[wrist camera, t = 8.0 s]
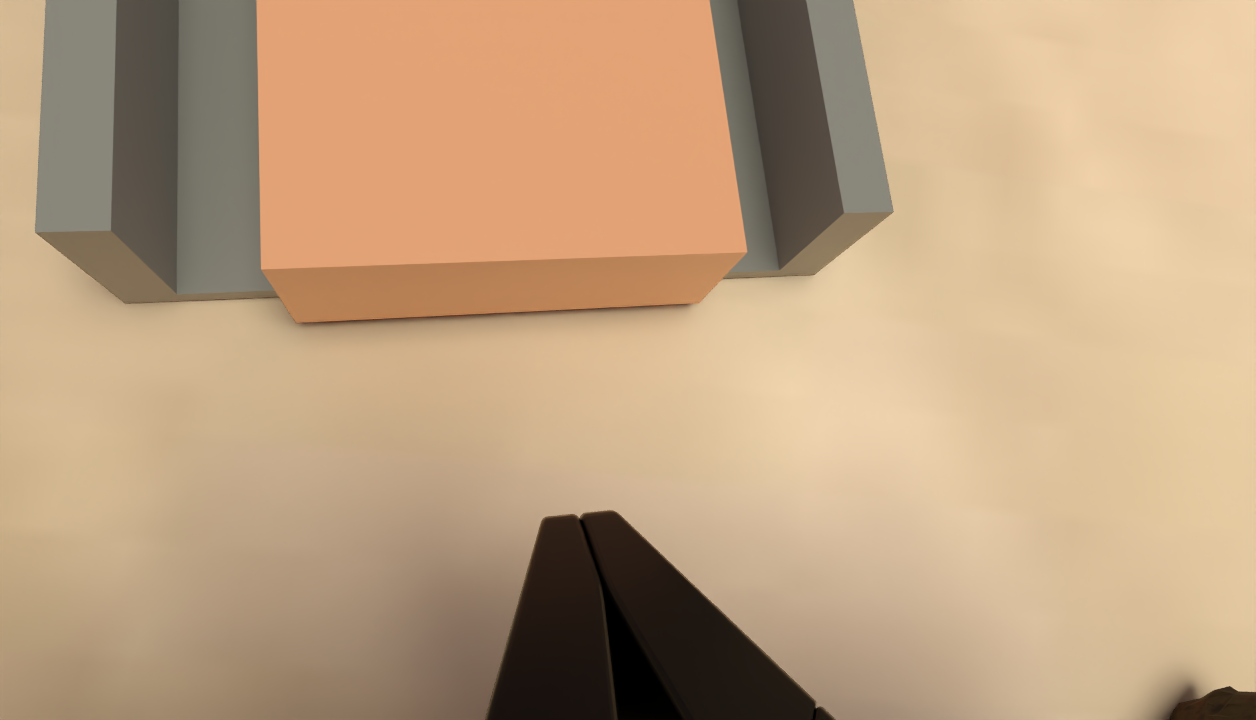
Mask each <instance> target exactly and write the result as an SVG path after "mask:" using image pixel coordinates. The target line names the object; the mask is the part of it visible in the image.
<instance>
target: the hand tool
mask: <svg viewBox="0 0 1256 720" xmlns="http://www.w3.org/2000/svg"><path fill="white" fill-rule="evenodd" d="M1169 720H1256V692H1238V691H1237V690H1235V689H1233V688H1232V687H1230V686H1229V687H1225V688H1221V689H1217V690H1214V691H1212V692H1210V693H1209V694H1207V695H1206V696H1204V697H1202V698H1201V699H1196V700H1192V701H1188V702H1184V703H1179V704H1178V706H1177V707H1176V709H1174V711H1173V713H1172V715H1171V717H1170V719H1169Z"/></svg>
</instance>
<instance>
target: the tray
mask: <svg viewBox="0 0 1256 720" xmlns="http://www.w3.org/2000/svg"><path fill="white" fill-rule="evenodd" d="M710 7H711V14H712V20H713V27H714V33H715V40H716V47H717V53H718V60H719V67H720V73H721V80H722V87H723V93H724V100H725V106H726V113H727V120H728V126H729V133H730V140H731V146H732V153H733V160H734V166H735V173H736V180H737V186H738V193H739V199H740V206H741V213H742V219H743V226H744V233H745V239H746V246H747V253H746V254H745V255H744V256H743V257H742V259H741V260H740V261H739V262H738V263H737V264H736V265H735V266H734V267H733V268H732V269H731V270H730V271H729V272H728V273H727V274H726V275H725V276H724V277H723V278H745V277H769V276H793V275H815V274H816V273H817V272H818V271H820V270H821V269H822V268H823V267H825V266H826V265H827V264H828V263H830V262H831V261H832V260H834V259H835V258H836V257H837V256H839V255H840V254H841V253H842V252H844V251H845V250H846V249H847V248H849V247H850V246H851V245H852V244H854V243H855V242H856V241H858V240H859V239H860V238H861V237H863V236H864V235H865V234H866V233H868V232H869V231H870V230H871V229H873V228H874V227H875V226H876V225H878V224H879V223H880V222H882V221H883V220H884V219H885V218H887V217H888V216H889V215H890V214H892V213H893V212H894V211H893V206H892V201H891V196H890V191H889V185H888V180H887V175H886V170H885V165H884V159H883V154H882V149H881V144H880V139H879V133H878V128H877V123H876V118H875V113H874V107H873V102H872V97H871V92H870V86H869V81H868V76H867V71H866V66H865V60H864V55H863V50H862V45H861V40H860V34H859V29H858V24H857V19H856V14H855V8H854V3H853V0H710ZM35 233H36V234H38V235H39V236H40V237H42V238H43V239H44V240H45V241H47V242H48V243H49V244H50V245H52V246H53V247H54V248H56V249H57V250H58V251H59V252H61V253H62V254H63V255H64V256H66V257H67V258H68V259H69V260H71V261H72V262H73V263H75V264H76V265H77V266H78V267H80V268H81V269H82V270H83V271H85V272H86V273H87V274H89V275H90V276H91V277H92V278H94V279H95V280H96V281H97V282H99V283H100V284H101V285H103V286H104V287H105V288H106V289H108V290H109V291H110V292H111V293H113V294H114V295H115V296H116V297H118V298H119V299H120V300H122V301H123V302H124V303H144V302H168V301H192V300H216V299H240V298H265V297H279V296H278V295H277V293H276V291H275V290H274V288H273V287H272V285H271V284H270V282H269V281H268V279H267V278H266V276H265V275H264V273H263V272H262V270H261V237H260V178H259V118H258V59H257V0H46V8H45V29H44V51H43V72H42V94H41V115H40V137H39V158H38V180H37V201H36V223H35Z"/></svg>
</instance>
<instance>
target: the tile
mask: <svg viewBox="0 0 1256 720" xmlns="http://www.w3.org/2000/svg"><path fill="white" fill-rule="evenodd" d="M257 59H258V118H259V178H260V237H261V270H262V272H263V273H264V275H265V276H266V278H267V279H268V281H269V282H270V284H271V285H272V287H273V288H274V290H275V291H276V293H277V295H278V296H279V298H280V299H281V301H282V302H283V304H284V305H285V307H286V308H287V310H288V311H289V313H290V314H291V316H292V317H293V319H294V320H295V322H296V323H303V322H323V321H344V320H364V319H384V318H405V317H425V316H445V315H466V314H486V313H506V312H527V311H547V310H567V309H587V308H608V307H628V306H648V305H669V304H689V303H699V302H700V301H701V300H702V299H703V298H704V297H705V296H706V295H707V294H708V293H709V292H710V291H711V290H712V289H713V288H714V287H715V286H716V285H717V284H718V283H719V282H720V281H721V279H722V278H723V277H724V276H725V275H726V274H727V273H728V272H729V271H730V270H731V269H732V268H733V267H734V266H735V265H736V264H737V263H738V262H739V261H740V260H741V259H742V257H743V256H744V255H745V254H746V253H747V246H746V239H745V233H744V226H743V219H742V213H741V206H740V199H739V193H738V186H737V180H736V173H735V166H734V160H733V153H732V146H731V140H730V133H729V126H728V120H727V113H726V106H725V100H724V93H723V87H722V80H721V73H720V67H719V60H718V53H717V47H716V40H715V33H714V27H713V20H712V14H711V7H710V0H257Z"/></svg>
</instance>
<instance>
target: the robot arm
mask: <svg viewBox="0 0 1256 720" xmlns="http://www.w3.org/2000/svg"><path fill="white" fill-rule="evenodd" d="M485 720H836V719H834V718H833V717H832V716H831V715H830V714H829V713H828V712H827V711H826V710H825V709H824V708H823V707H817V708H816V701H815V700H814V699H813V698H812V697H811V696H810V695H809V694H808V693H807V692H806V691H805V690H804V689H803V688H801V687H800V686H799V685H798V684H797V683H796V682H795V681H794V680H793V679H792V678H791V677H790V676H789V675H788V674H787V673H786V672H785V671H784V670H783V669H782V668H780V667H779V666H778V665H777V664H776V663H775V662H774V661H773V660H772V659H771V658H770V657H769V656H768V655H767V654H766V653H765V652H764V651H763V650H762V649H760V648H759V647H758V646H757V645H756V644H755V643H754V642H753V641H752V640H751V639H750V638H749V637H748V636H747V635H746V634H745V633H744V632H743V631H742V630H741V629H739V628H738V627H737V626H736V625H735V624H734V623H733V622H732V621H731V620H730V619H729V618H728V617H727V616H726V615H725V614H724V613H723V612H722V611H721V610H720V609H718V608H717V607H716V606H715V605H714V604H713V603H712V602H711V601H710V600H709V599H708V598H707V597H706V596H705V595H704V594H703V593H702V592H701V591H700V590H698V589H697V588H696V587H695V586H694V585H693V584H692V583H691V582H690V581H689V580H688V579H687V578H686V577H685V576H684V575H683V574H682V573H681V572H680V571H679V570H677V569H676V568H675V567H674V566H673V565H672V564H671V563H670V562H669V561H668V560H667V559H666V558H665V557H664V556H663V555H662V554H661V553H660V552H659V551H658V550H656V549H655V548H654V547H653V546H652V545H651V544H650V543H649V542H648V541H647V540H646V539H645V538H644V537H643V536H642V535H641V534H640V533H639V532H638V531H636V530H635V529H634V528H633V527H632V526H631V525H630V524H629V523H628V522H627V521H626V520H625V519H624V518H623V517H622V516H621V515H620V514H618V513H617V512H615V511H612V510H607V511H598V512H588V513H583V514H582V515H581V516H580V518H579V517H578V516H577V515H575V514H568V515H559V516H549V517H545V518H544V519H543V520H542V522H541V524H540V528H539V531H538V535H537V538H536V542H535V545H534V549H533V552H532V556H531V559H530V563H529V566H528V570H527V573H526V577H525V580H524V584H523V587H522V591H521V594H520V598H519V601H518V605H517V608H516V612H515V615H514V619H513V622H512V626H511V629H510V633H509V636H508V640H507V643H506V647H505V650H504V654H503V657H502V661H501V664H500V668H499V671H498V675H497V678H496V682H495V685H494V689H493V692H492V696H491V699H490V703H489V706H488V710H487V713H486V717H485Z"/></svg>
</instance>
